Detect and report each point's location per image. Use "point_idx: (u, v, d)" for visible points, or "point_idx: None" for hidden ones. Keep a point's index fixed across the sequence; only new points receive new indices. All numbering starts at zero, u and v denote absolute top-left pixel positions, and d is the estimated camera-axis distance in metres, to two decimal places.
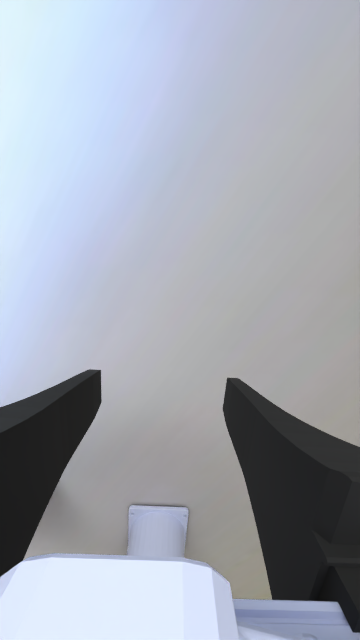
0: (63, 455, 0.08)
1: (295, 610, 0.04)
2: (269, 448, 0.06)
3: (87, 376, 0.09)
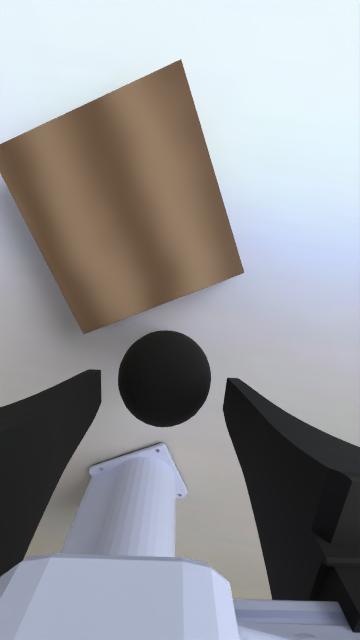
0: (63, 455, 0.08)
1: (295, 610, 0.04)
2: (269, 448, 0.06)
3: (87, 376, 0.09)
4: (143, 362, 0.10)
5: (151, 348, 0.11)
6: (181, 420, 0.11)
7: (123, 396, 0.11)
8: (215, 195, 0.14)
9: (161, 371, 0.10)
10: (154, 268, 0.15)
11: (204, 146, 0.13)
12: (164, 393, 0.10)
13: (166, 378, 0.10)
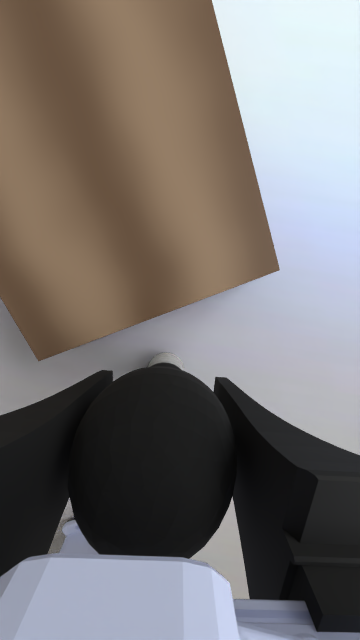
0: None
1: (295, 610, 0.04)
2: (249, 447, 0.06)
3: (100, 376, 0.09)
4: (106, 453, 0.05)
5: (125, 418, 0.05)
6: None
7: (72, 507, 0.06)
8: (238, 145, 0.09)
9: (144, 479, 0.05)
10: (142, 264, 0.10)
11: (222, 59, 0.08)
12: (149, 530, 0.04)
13: (154, 496, 0.04)
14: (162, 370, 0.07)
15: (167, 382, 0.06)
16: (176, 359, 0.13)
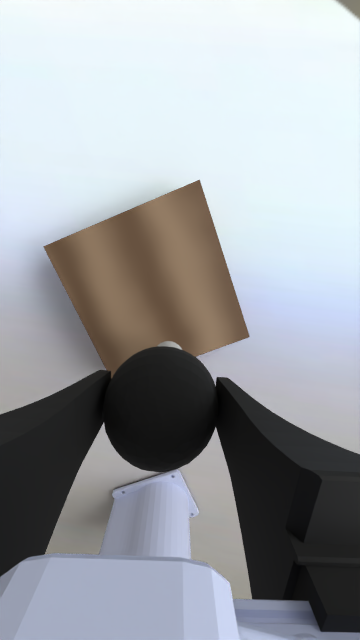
0: (77, 456, 0.08)
1: (295, 610, 0.04)
2: (251, 447, 0.06)
3: (98, 376, 0.09)
4: (133, 392, 0.08)
5: (145, 373, 0.08)
6: (180, 466, 0.08)
7: (107, 431, 0.08)
8: (226, 278, 0.17)
9: (157, 407, 0.07)
10: (175, 334, 0.18)
11: (217, 242, 0.16)
12: (160, 436, 0.07)
13: (163, 416, 0.07)
14: (168, 347, 0.10)
15: (172, 354, 0.09)
16: (177, 346, 0.15)
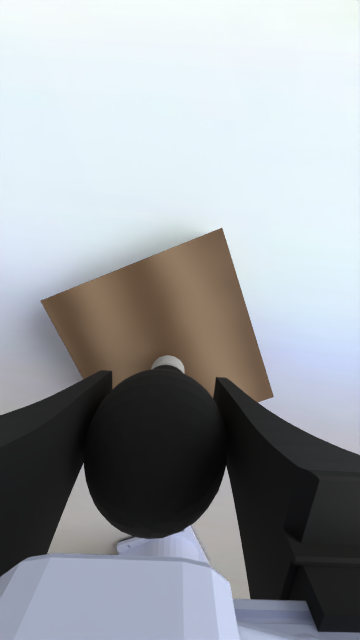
0: (79, 456, 0.08)
1: (295, 610, 0.04)
2: (250, 447, 0.06)
3: (100, 376, 0.09)
4: (120, 438, 0.06)
5: (136, 411, 0.06)
6: (179, 531, 0.06)
7: (87, 483, 0.07)
8: (249, 335, 0.15)
9: (150, 461, 0.06)
10: None
11: (240, 296, 0.14)
12: (153, 501, 0.06)
13: (158, 474, 0.06)
14: (167, 372, 0.08)
15: (171, 383, 0.07)
16: (178, 362, 0.14)
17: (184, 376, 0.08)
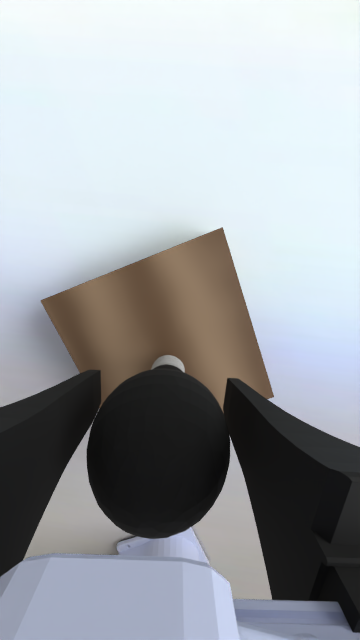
0: (63, 455, 0.08)
1: (295, 610, 0.04)
2: (269, 448, 0.06)
3: (87, 376, 0.09)
4: (125, 439, 0.06)
5: (140, 411, 0.06)
6: (183, 530, 0.06)
7: (90, 484, 0.07)
8: (249, 335, 0.15)
9: (155, 460, 0.06)
10: None
11: (241, 296, 0.14)
12: (158, 501, 0.06)
13: (163, 474, 0.06)
14: (169, 372, 0.08)
15: (174, 383, 0.07)
16: (178, 362, 0.14)
17: (186, 375, 0.08)
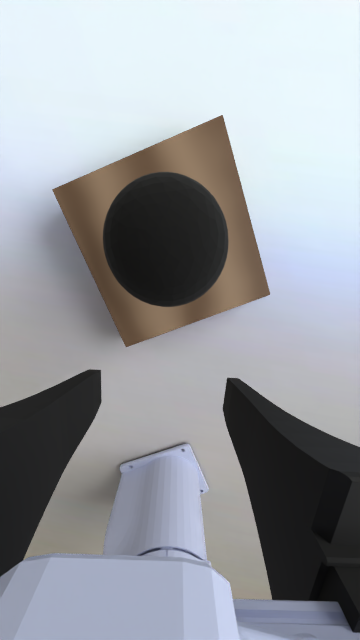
0: (63, 455, 0.08)
1: (295, 610, 0.04)
2: (269, 448, 0.06)
3: (87, 376, 0.09)
4: (138, 183, 0.07)
5: (151, 173, 0.07)
6: (188, 278, 0.07)
7: (108, 242, 0.08)
8: (247, 228, 0.16)
9: (165, 188, 0.07)
10: None
11: (239, 187, 0.15)
12: (168, 218, 0.07)
13: (172, 196, 0.07)
14: None
15: None
16: None
17: None
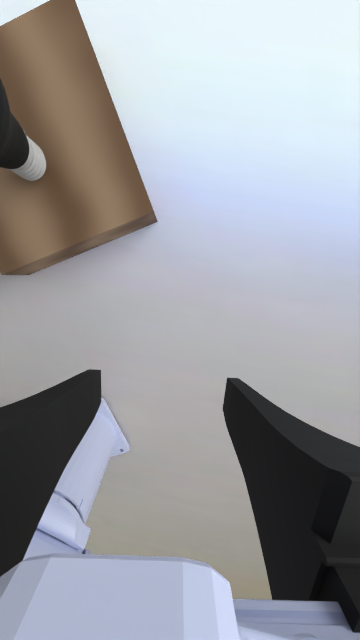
0: (63, 455, 0.08)
1: (295, 610, 0.04)
2: (269, 448, 0.06)
3: (87, 376, 0.09)
4: None
5: None
6: None
7: None
8: (117, 130, 0.14)
9: None
10: (65, 207, 0.15)
11: (102, 80, 0.14)
12: None
13: None
14: None
15: None
16: (32, 141, 0.13)
17: None
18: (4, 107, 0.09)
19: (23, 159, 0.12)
